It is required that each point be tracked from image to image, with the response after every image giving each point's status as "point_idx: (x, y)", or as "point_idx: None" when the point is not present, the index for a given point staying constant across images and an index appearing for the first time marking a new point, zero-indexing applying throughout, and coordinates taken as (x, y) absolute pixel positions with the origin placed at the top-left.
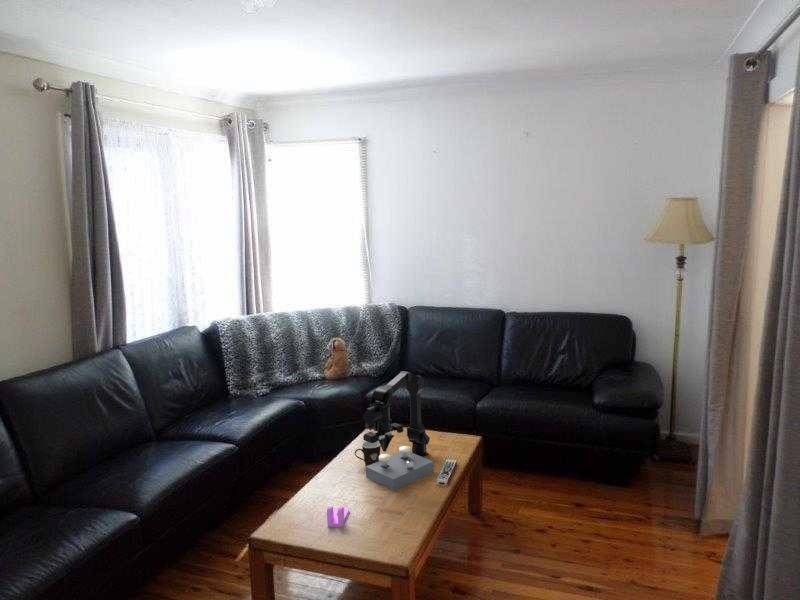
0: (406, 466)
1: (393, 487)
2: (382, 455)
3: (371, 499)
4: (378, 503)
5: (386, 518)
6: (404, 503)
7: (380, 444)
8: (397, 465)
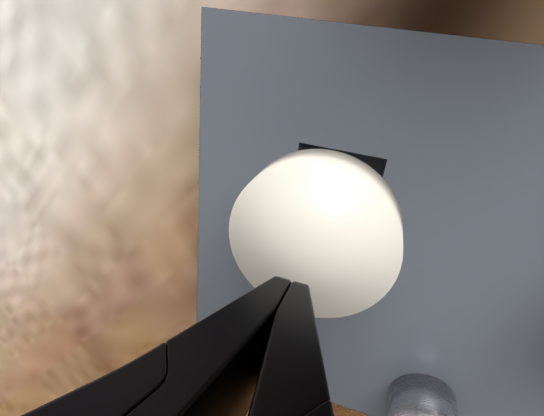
0: (394, 399)
1: None
2: (317, 203)
3: (95, 249)
4: (100, 295)
5: (66, 367)
6: None
7: (159, 357)
8: (420, 287)
